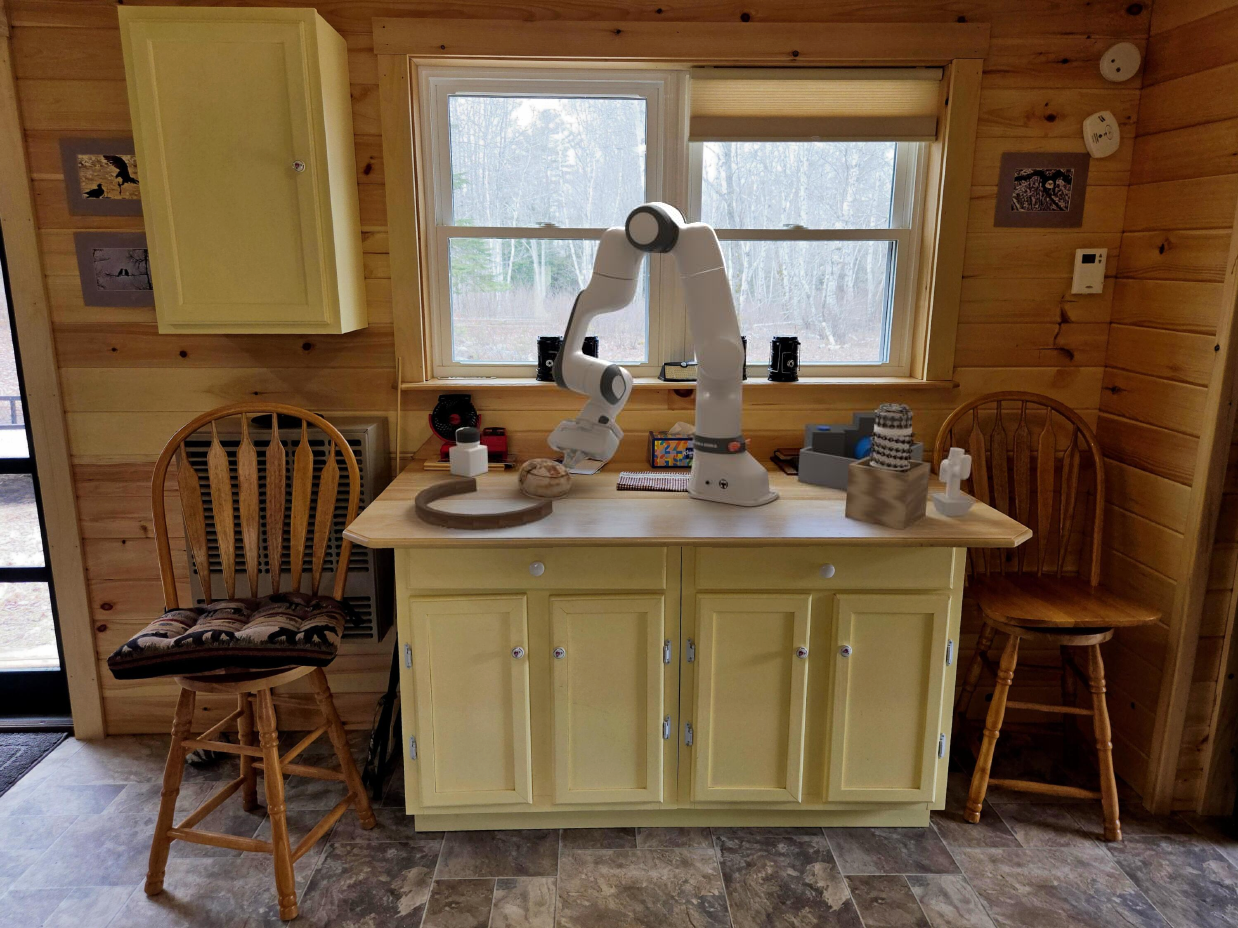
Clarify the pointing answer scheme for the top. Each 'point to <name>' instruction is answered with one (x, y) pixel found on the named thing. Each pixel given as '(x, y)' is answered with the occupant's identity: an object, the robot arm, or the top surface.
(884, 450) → the decorative candle
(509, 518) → the brown curved arc
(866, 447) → the camera
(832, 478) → the tray
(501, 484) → the top surface
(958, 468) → the figurine
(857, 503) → the wooden box
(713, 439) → the robot arm
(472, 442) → the medicine bottle
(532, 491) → the trinket box
